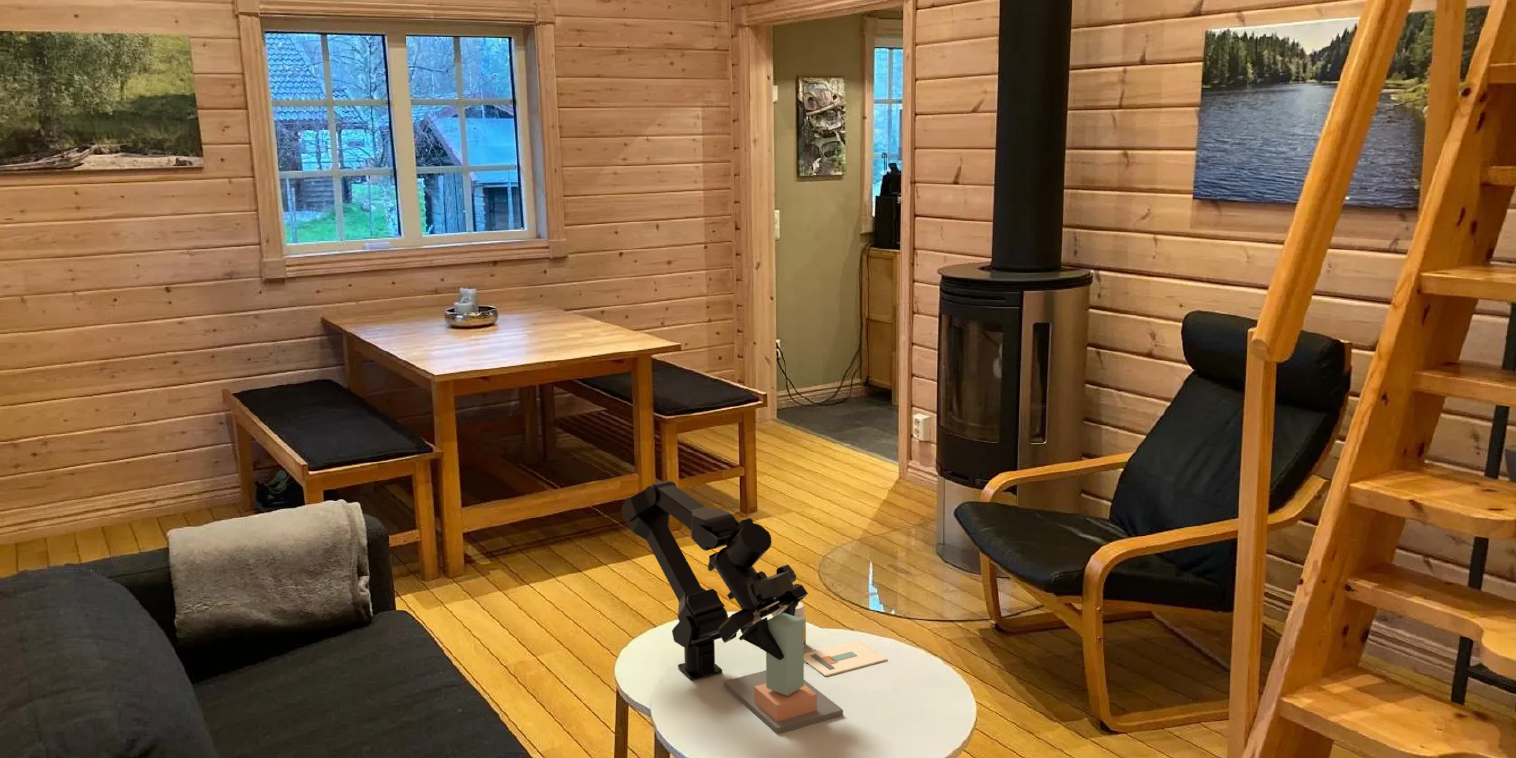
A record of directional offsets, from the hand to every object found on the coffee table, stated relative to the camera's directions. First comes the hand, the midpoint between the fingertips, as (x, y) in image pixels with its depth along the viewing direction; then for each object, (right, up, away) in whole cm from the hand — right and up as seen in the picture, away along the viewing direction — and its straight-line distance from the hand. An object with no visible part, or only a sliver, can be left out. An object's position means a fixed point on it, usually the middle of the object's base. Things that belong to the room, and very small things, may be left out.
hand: (791, 653), depth 197 cm
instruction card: (+11, -7, +24) cm, 27 cm away
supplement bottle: (+1, -6, +30) cm, 30 cm away
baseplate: (-1, -10, +7) cm, 12 cm away
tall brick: (-1, -6, +2) cm, 7 cm away
